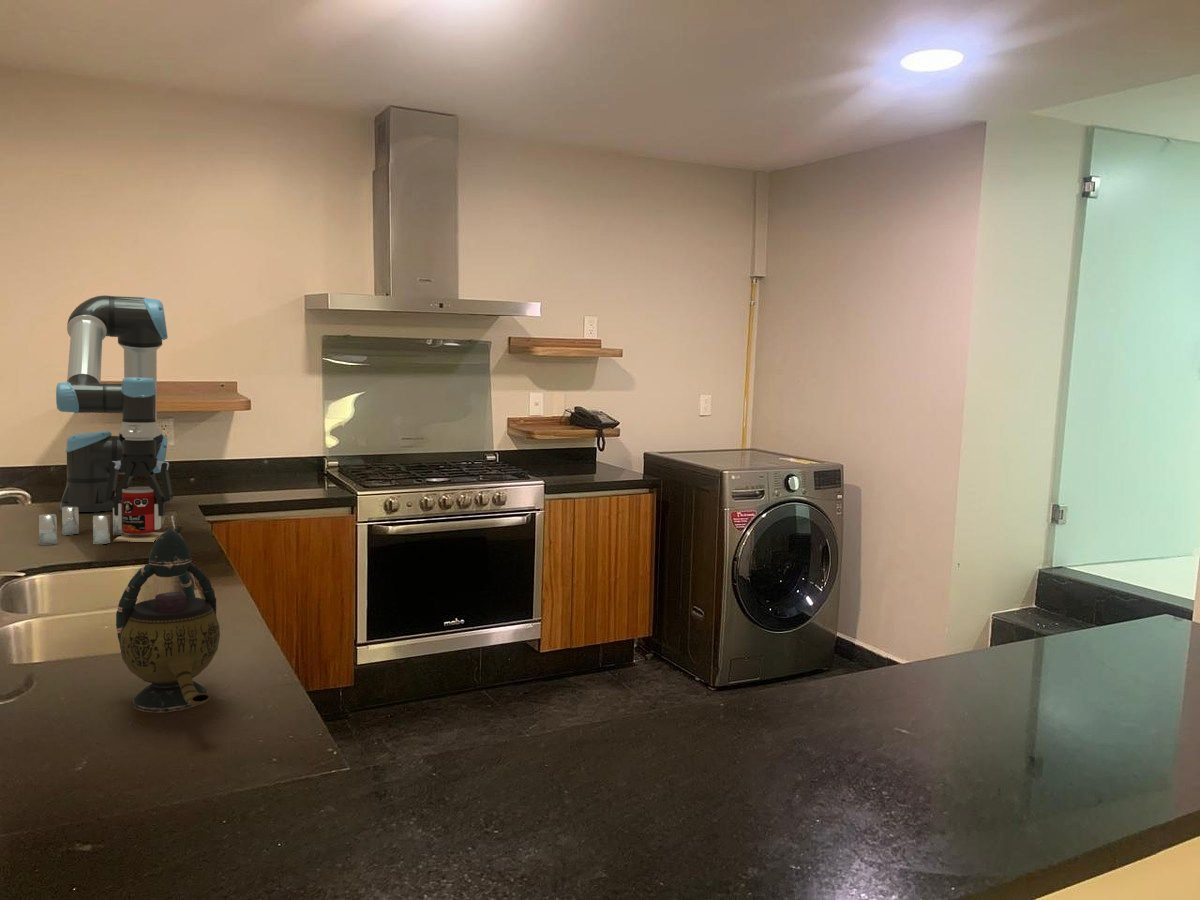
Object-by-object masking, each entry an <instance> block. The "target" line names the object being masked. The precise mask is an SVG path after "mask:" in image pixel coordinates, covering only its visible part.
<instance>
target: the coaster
mask: <svg viewBox="0 0 1200 900" xmlns="http://www.w3.org/2000/svg"><path fill="white" fill-rule="evenodd" d="M164 532H165V531H162V532H161V531H160V532H159V531H155V532H152V533H145V534H127V533H125V534H123V535H121V536H117V537H116V538H114V539H113V542H114V541H128V542H129V541H130V542H153V543H155V542H156V541H155V540H157V539H158V538H159V537H160V536H161V534H163V533H164ZM154 541H155V542H154Z"/></svg>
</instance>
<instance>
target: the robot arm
mask: <svg viewBox="0 0 1200 900" xmlns="http://www.w3.org/2000/svg"><path fill="white" fill-rule="evenodd" d="M66 331H67V334H68V335H69V337H70V340H69V351H68V352H69V353H68V362H67V363H68V365H67V377H66V381H65V382H59V383H57V385H56V387H55V388H56V389H55V400H56V403H55V404H56V408H57V410H58V411H59V412H63V413H74V414H79V413H80V414H83V413H85V414H89V413H92V414H94V413H95V414H96V413H98V414H99V413H100V414H101V413H102V414H103V413H107V414H108V413H109V414H112V413H113V414H121V415H122V421H121V423H122V424H121V425H122V427H121V428H120V429H119V431H118V434H119V435H112V434H113V433H112V432H111V431H110V430H100V431H99V430H98V431H90V432H83V433H77V434H72V435H70V436H68V437H67V439H66V450H65V453H66V486H65V489H64V492H63V494H62V497H61V500H60V503H59V504H60V508H59V509H60V512H62V507H67V506H77V507H78V509H79V512H94V513H101V512H100V511H105V512H111V510H112V511H113V508H114V514H115V516H118V529H122V489H126V488H128V487H129V485H130V483H131V481H132V479H133V478H134V477H137V476H139V477H145V479H146V480H147V482H148V485H149V487H151V489H153V491H154V495H155V498H156V500H157V503H156V504H154V522H155V530H156V531H157V530H160V529H161V528H162V517H163V516H165V515H166V503H167V502H170V501H173V499H174V495H173V489H172V484H171V479H170V473H169V469H170V462H169V461H166V459H167V458H166V457H167V448H168V447H167V446H168V437H167V436H166V435H164V434H163V430H162V429H161V428H160V427H159V426H158V424H157V423H158V421H157V420H158V419H157V416H158V411H157V408H158V407H157V405H158V403H157V397H158V396H157V395H158V394H157V393H158V392H157V388H158V387H157V383H158V382H157V381H158V380H157V378H158V377H157V375H158V374H157V370H158V369H157V363H158V362H157V359H158V357H157V355H158V354H157V351H158V349H160V348H161V347H162V346H163V341H166V340H167V339H168V330H167V323H166V315H165V309H164V304H163V302H162V301H161V300H159V299H156V298H148V297H141V296H140V297H139V296H120V295H119V296H118V295H116V296H115V295H105V294H104V295H97V296H94V297H91V298H88V299H86V300H84V301H83V302H81V303H80V304H79V305H78V306H76V307H75V308H74V310H72V312H71V313H70V315H69V317H68V320H67V324H66ZM106 337H111V338H117V344H118V345H119V346H120V347H121V348H122V349H123V377H124V378H122V381H121V383H104V382H103V383H102V382H101V378H102V377H101V376H102V356H103V354H102V353H103V340H104V339H105V338H106ZM158 473H159V474H160V477H161V484H162V489H163V491H162V489H161V486H160V485H159V482H158V480H157V478H156V474H158ZM119 475H123V479H122V480H121V483H120V485H119V487H118V490H117V492H116V489H117V484H118V478H119Z"/></svg>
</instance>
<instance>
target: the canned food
mask: <svg viewBox="0 0 1200 900" xmlns="http://www.w3.org/2000/svg"><path fill="white" fill-rule="evenodd" d="M121 502H122V529H123V532H124V533H127V534H145V533H152V532H157V530H155V522H154V504H156V503H157V500H156V498H155V495H154V491H153V489H151V487H150V486H130V487H129V486H128V488H126V489H122V501H121Z"/></svg>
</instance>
